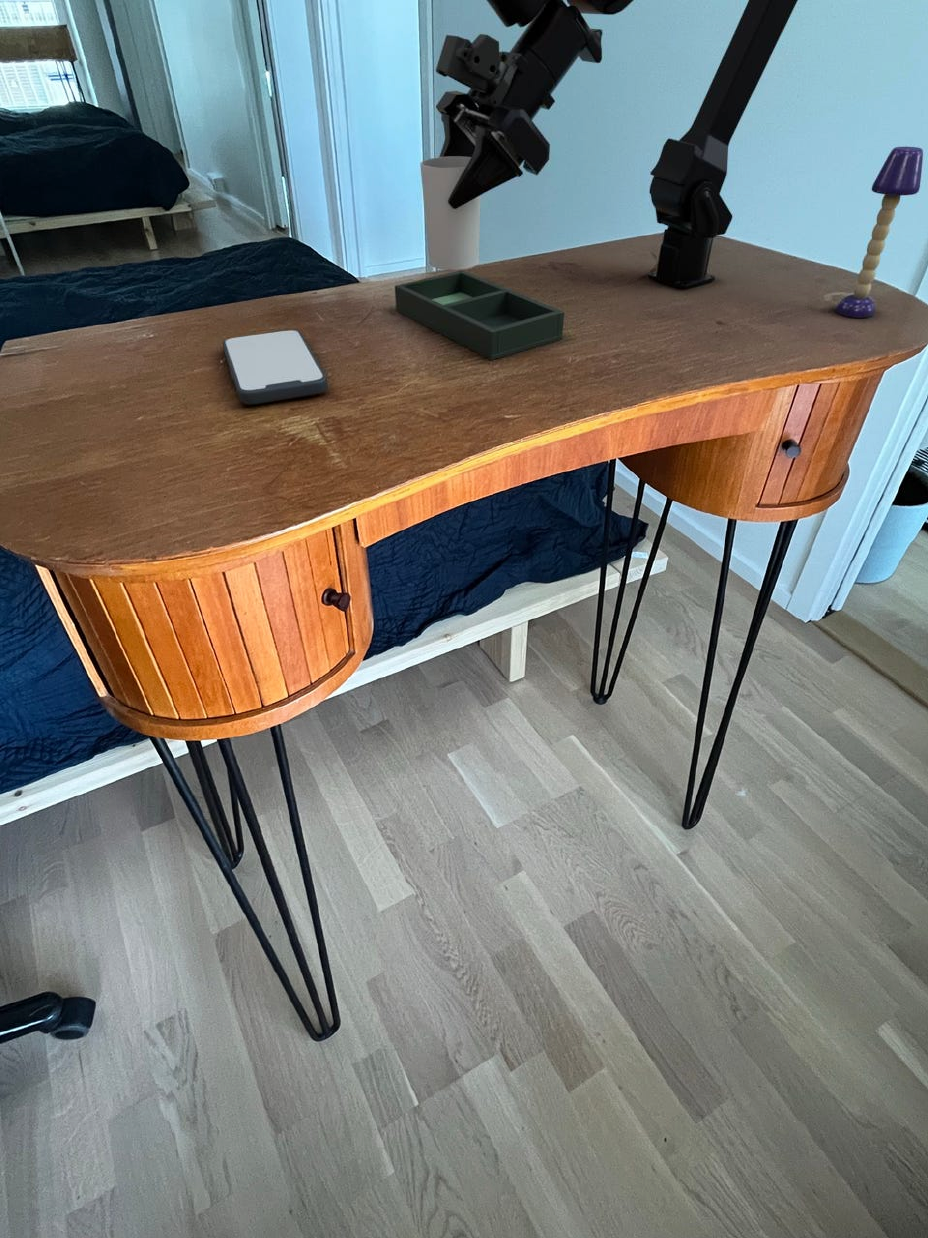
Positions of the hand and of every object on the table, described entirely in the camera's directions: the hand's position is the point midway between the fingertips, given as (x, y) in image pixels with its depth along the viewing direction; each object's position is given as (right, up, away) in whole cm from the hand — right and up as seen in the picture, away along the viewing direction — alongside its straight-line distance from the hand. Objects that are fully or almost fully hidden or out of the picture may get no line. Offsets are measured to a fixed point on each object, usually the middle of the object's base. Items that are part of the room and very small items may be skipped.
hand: (440, 199), depth 78 cm
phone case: (-17, -21, -4) cm, 27 cm away
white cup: (+1, -5, +5) cm, 7 cm away
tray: (+4, -11, +6) cm, 13 cm away
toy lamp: (+50, -9, +8) cm, 51 cm away
